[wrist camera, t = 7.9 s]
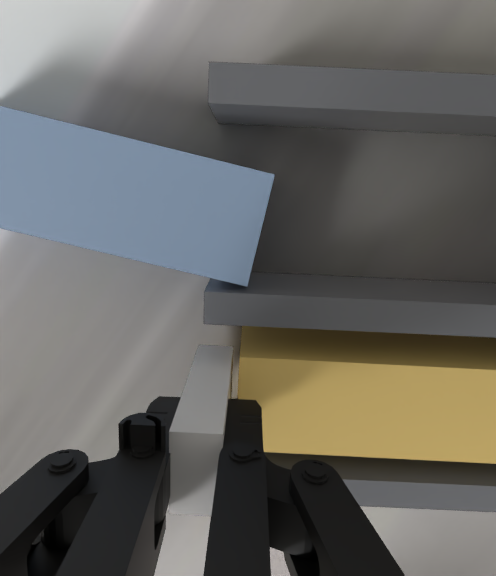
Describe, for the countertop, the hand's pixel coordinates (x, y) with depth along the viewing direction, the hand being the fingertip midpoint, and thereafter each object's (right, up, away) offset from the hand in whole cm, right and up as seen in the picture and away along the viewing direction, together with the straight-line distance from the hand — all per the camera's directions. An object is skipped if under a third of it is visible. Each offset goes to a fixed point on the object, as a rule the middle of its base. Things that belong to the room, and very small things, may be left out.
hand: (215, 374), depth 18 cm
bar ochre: (+7, 0, +2) cm, 7 cm away
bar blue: (-4, +8, 0) cm, 9 cm away
